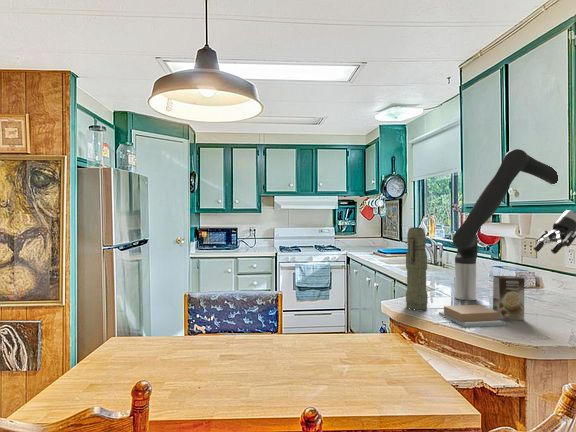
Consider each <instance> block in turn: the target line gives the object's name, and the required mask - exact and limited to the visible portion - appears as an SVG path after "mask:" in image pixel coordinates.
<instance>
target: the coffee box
mask: <svg viewBox="0 0 576 432" xmlns="http://www.w3.org/2000/svg"><path fill="white" fill-rule="evenodd" d="M492 280H493V282H492V286H493V287H492V289H493V290H492V310H494V311H497V312H499V320H503V321H504V320H507V321H508V320H509V321H525V278H523V277H520V276H515V275H514V276H513V275H493V279H492Z"/></svg>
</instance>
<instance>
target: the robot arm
mask: <svg viewBox="0 0 576 432" xmlns="http://www.w3.org/2000/svg"><path fill="white" fill-rule="evenodd" d="M548 165H549V164H546V163H543V162H541V161H539V160H537V159H535V158H534V157H532V156H530V155H529V154H527V152H526V151H525V150H523V149H520V148H514V149H511V150H509V151H508V152H506V154H505V155H504V157H503V159H502V161H501V163H500V165H499V168H498V170H497V171H496V173H495V175H494V176H493V178H491V180H490V181H489V182H488V183H487V185H486V187H484V189H483V191H482V192H481V193H480V195H479V196H478V198H477V199H476V201H475V203H474V205H473V207H472V208H471V209H470V211H469V213H468V215H467V217H466V218H465V220H464V221H463V223H462V224H461V225H460V226H459V228H458V229H457V230H456V231H455V233H454V234H453V237H452V243H453V246H454V247H455V248H457V250H456V251H457V252H456V254H455V257H454V277H453V278H454V279H453V280H454V281H453V282H454V283H453V285H454V287H453V290H454V291H453V293H454V295H453V296H454V298H455V299H456V300H461V301H475V300H477V257H478V246H479V245H478V236H477V234H478V232H479V231H480V229H481V227H483V225H484V224H485V223H486V222H488V220H490V218H491V217H493V215H494V214H495V212H496V211H497V210H498V209H499V207H500V206H501V204H502V202H503V200H504V199H505V197H506V196H507V193H508V191H509V188H510V186H511V185H512V183H513V181H514V180H515V178H516V177H517V176H518V174H519V173H520V172H522V173H526V174H529V175H532V176H534V177H536V178H537V179H540V180H542V181H544V182H546V183H548V184H550V185H552V184H555V183H557V181H558V175H557V172H556V171H555V170H554V169H553V168H552V167H553V166H552V167H550V166H551V165H549V166H548ZM575 239H576V213H574V211H572V210H567V209H566V210H565V211H564V212H563V213H561V215H560V216H559V217H558V219H557V220H556V221H555V222H554V223H553V225H552V229H551V230H550V231H548V230H547V229H544V230H543V231H542V232H541V233H540V234H539V235H538V236H537V237H536V238H535V241H536V242H537V243H536V244H535V245H534V247H533V250H534V251H535V252H537V253H540V250H541V249H542V248H543V247H544V246H545V245H547V244H551V243H554V242H556V243H555V245H554V246H552V248H551V249H550V251H551V253H552V254H554V255H556V254H557V253H558V252H559V251H560V250H561V249H562V248H564V247H567V248H569V247H570V245H572V243H573V242H574V241H575Z"/></svg>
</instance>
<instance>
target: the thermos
mask: <svg viewBox="0 0 576 432" xmlns="http://www.w3.org/2000/svg"><path fill="white" fill-rule="evenodd" d="M426 235H427V234H426V231H425V228H422V227H418V226H415V227H413V226H412V227H410V228H408V230H407V240H406V241H407V243H406V244H407V249H406V250H407V251H406V254H405V267H406V279H407V280H406V285H407V286H406V292H405V303H406V305H405V306H406V307H407V308H410V309H415V310H414V311H417V310H423V311H426V309H427V310H428V302H429V301H428V292H427V269H428V255H427V251H426V245H427V244H426V243H427V242H426V241H427V239H426V238H427V236H426ZM407 308H406V309H407ZM410 309H409V310H410Z"/></svg>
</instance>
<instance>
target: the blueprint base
mask: <svg viewBox="0 0 576 432" xmlns="http://www.w3.org/2000/svg"><path fill="white" fill-rule="evenodd" d="M439 314H440V316H441V315H442V316H441V317H443V316H444V318H446V319H447V320H450V321H452V322H453V323H456V324H458V325H460V326H462V327H464V328H473V327H474V328H476V327H494V326H495V327H497V326H498V327H499V326H500V327H501V326H507V322H505V321H504V320H502V319H499V312H497V311H494V310H493V309H491V308H489V307H485V306H482V305H480V304H464V305H443V311H438V315H439Z"/></svg>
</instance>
